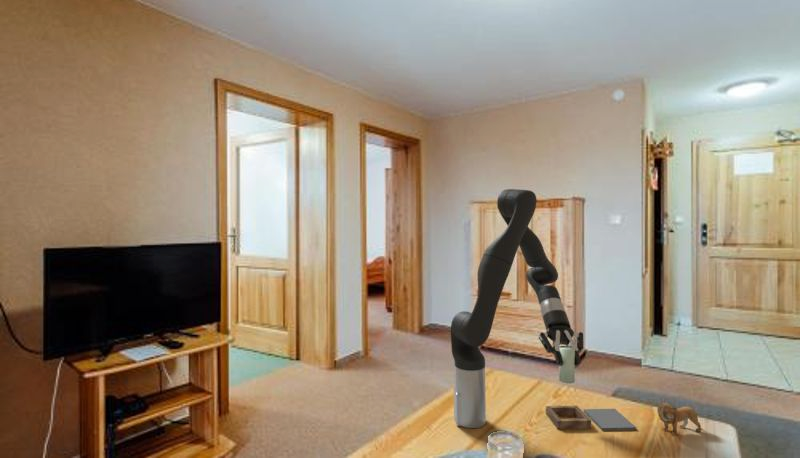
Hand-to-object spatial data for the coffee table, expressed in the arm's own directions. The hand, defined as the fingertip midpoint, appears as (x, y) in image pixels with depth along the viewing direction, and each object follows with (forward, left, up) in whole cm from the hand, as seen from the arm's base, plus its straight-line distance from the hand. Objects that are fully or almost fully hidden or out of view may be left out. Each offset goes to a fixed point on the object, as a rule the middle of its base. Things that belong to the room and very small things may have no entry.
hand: (569, 364), depth 124 cm
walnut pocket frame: (0, +2, -18) cm, 18 cm away
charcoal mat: (+13, +2, -18) cm, 22 cm away
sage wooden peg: (0, +2, -6) cm, 6 cm away
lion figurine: (+29, -6, -18) cm, 35 cm away
